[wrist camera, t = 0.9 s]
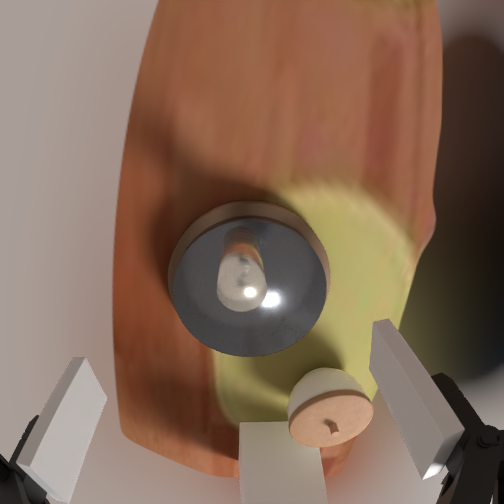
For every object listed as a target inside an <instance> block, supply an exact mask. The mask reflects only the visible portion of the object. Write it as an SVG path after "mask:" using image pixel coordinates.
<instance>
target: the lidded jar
mask: <svg viewBox="0 0 504 504" xmlns="http://www.w3.org/2000/svg"><path fill="white" fill-rule="evenodd" d="M372 416H373V406H372V403H371V401H370V399H369V398H368V396H367V394H366V393H365V391H364V389H363V387H362V386H361V384H360V383H359V382H358V381H357V380H356V379H355V377H353V376H352V375H350V374H349V373H347V372H345V371H343V370H340V369H334V368H328V367H323V368H317V369H314V370H312V371H310V372H308V373H307V374H306V375H304V376H303V377H302V379H300V380H299V381H298V382H297V384H296V385H295V386H294V388H293V389H292V392H291V394H290V397H289V400H288V422H289V423H288V428H289V433H290V436H291V437H292V439H293V440H294V441H296V442H297V443H299V444H301V445H304V446H308V447H328V446H333V445H337V444H340V443H343V442H345V441H347V440H349V439H351V438H353V437H354V436H356V435H358V434H359V433H360V432H361V431H362V430H364V429H365V428H366V426H367V425H368V424H369V422H370V420H371V419H372Z"/></svg>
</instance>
